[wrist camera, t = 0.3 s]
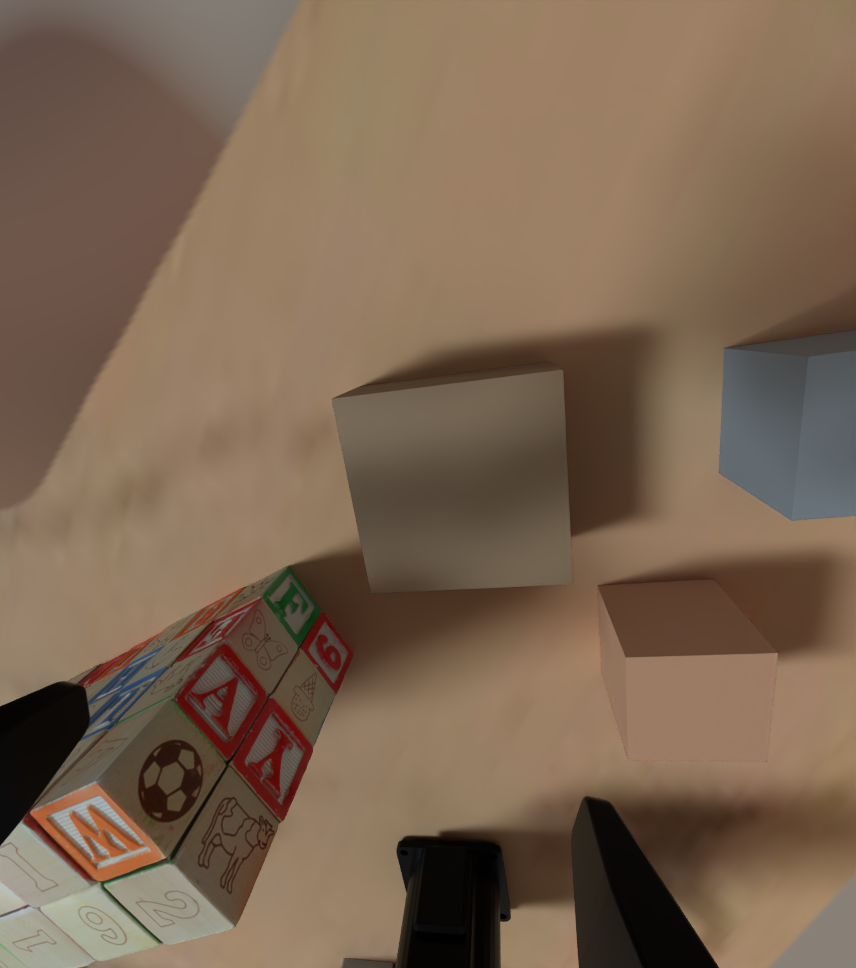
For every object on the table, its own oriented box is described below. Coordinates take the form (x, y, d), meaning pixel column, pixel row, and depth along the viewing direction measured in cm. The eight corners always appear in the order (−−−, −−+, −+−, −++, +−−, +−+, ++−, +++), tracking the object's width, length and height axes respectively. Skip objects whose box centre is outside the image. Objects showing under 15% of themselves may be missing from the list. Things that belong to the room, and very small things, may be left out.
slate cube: (855, 459, 18) (982, 506, 13) (717, 472, 19) (791, 520, 14) (874, 327, 16) (1025, 327, 12) (723, 348, 17) (808, 356, 13)
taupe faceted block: (558, 538, 21) (573, 584, 17) (391, 549, 22) (370, 593, 19) (549, 361, 19) (562, 369, 15) (362, 385, 20) (331, 398, 16)
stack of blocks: (102, 763, 31) (-134, 1027, 19) (37, 695, 29) (-259, 934, 18) (357, 652, 25) (235, 940, 13) (290, 560, 23) (89, 790, 12)
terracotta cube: (709, 668, 22) (767, 761, 17) (600, 671, 23) (627, 760, 18) (713, 577, 20) (778, 653, 16) (596, 584, 21) (625, 657, 17)
